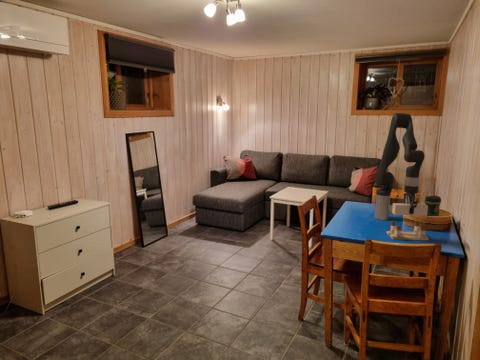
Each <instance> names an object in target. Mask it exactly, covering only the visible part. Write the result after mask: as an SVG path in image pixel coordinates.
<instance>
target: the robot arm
mask: <svg viewBox="0 0 480 360" xmlns="http://www.w3.org/2000/svg"><path fill="white" fill-rule="evenodd" d="M397 129H405V130H406V131H405V133H404V134H403V136H402V140H401V141H402V145H403V148H404V154H403V160H404V161H405V162H406V163H414V164H413V165H411V166H410V165H409V166H407V167H406V169H405V177H404V178H405V179H404V184H403V185H404V186H403V187H404V188H403V192H404V193H403V203H409V204H410V210H409V214H414V208H416V207H417V204H418V201H419V199H418V198H417V197H416V194H418V193H419V188H420V174H421V173H420V172H421V168H422V165H423V163H424V161H425V155H426V154H425V152H424V151H423V150H421V149H420V150H419V149H418V147H419V146H418V143H417V140H416V137H415V134H414V132H415V131H414V123H413V117H412V115H411V114H409V113H404V112H403V113H402V112H401V113H400V112H395V113H393V115H392V118H391V120H390V125H389V130H388V135H387V139H386V141H385V145H384V147H383V152H382V155H381V160H380V162H379V164H378V167H377V170H376V172H375V176H374V183H375V184H376V185H377V186H382V187H380V188H378V189H377V190H376V193H375V194H376V195H375V209H374V219H376V220H381V221H388V220H389V219H390V217H389V216H390V214H389V208H390V205H391V195H392V191H393V185H394V175H393V173H392V172H391V171H387V170H388V169H389V167H390V166H391V165H392V163H393V162H394V161H396V159H397V158H398V156H399V153H400V150H401V149H400V148H401V145H400V142H399V140H398V138H397ZM411 204H412V205H411Z"/></svg>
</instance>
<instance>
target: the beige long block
mask: <svg viewBox="0 0 480 360" xmlns="http://www.w3.org/2000/svg"><path fill="white" fill-rule="evenodd" d="M392 205H393V207H392V213H393V214H392V215H394V216H400V215H410V216H413V217H414V216H419V217H423V216H427V211H428V206H427V205H426V204H425V203H417V207H416V208H414V214H409V210H410V204H409V203H404V202H403V203H401V202H400V203H399V202H396V203H395V202H393V203H392ZM411 205H412V204H411Z"/></svg>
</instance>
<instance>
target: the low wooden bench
mask: <svg viewBox="0 0 480 360" xmlns="http://www.w3.org/2000/svg"><path fill="white" fill-rule="evenodd" d="M426 230H427V227H426V226H425V225H421V226H420V222H419V221H414V227H413V231H408V230H407V231H403V230H402V226H401V225H396V221H394V220H391V221H390V230H386V234H387V235H388V237H390V238H391V239H392V240H395V241H396V240H397V241H399V240H400V241H407V240H408V241H429V239H430V238H429V237H428V236H427V235H426Z"/></svg>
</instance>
